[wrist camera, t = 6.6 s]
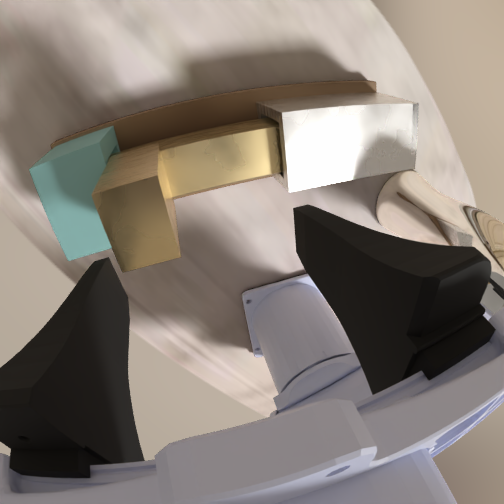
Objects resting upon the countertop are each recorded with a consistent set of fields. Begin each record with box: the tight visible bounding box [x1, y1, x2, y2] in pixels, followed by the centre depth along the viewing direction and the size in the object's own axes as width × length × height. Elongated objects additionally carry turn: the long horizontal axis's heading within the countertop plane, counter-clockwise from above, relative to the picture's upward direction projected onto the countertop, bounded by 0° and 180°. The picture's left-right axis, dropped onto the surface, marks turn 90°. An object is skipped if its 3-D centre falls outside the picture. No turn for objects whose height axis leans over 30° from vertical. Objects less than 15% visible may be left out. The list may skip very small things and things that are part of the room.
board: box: [51, 80, 376, 200], centre depth 19 cm, size 6×22×1 cm, turn 97°
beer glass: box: [376, 170, 504, 320], centre depth 20 cm, size 7×7×15 cm
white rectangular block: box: [256, 92, 418, 193], centre depth 18 cm, size 4×9×4 cm, turn 97°
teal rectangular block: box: [29, 126, 120, 261], centre depth 16 cm, size 6×4×4 cm
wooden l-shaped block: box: [91, 117, 284, 272], centre depth 14 cm, size 4×13×8 cm, turn 97°
